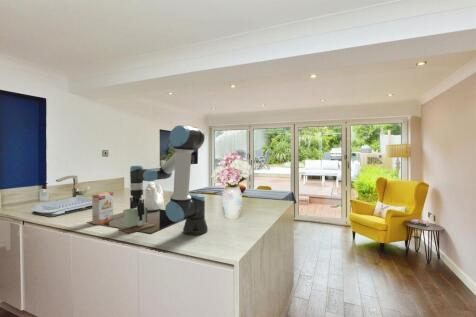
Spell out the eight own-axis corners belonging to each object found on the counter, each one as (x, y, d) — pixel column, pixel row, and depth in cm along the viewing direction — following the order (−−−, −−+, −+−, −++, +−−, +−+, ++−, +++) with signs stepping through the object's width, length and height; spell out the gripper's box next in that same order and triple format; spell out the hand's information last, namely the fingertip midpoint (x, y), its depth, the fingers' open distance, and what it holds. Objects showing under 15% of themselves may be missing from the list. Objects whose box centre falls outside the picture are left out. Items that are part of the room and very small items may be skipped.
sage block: (123, 209, 154) (142, 206, 164) (123, 225, 154) (142, 221, 164) (128, 211, 150) (147, 207, 160) (128, 227, 150) (147, 222, 160)
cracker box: (99, 225, 165) (99, 194, 165) (92, 224, 166) (91, 194, 166) (113, 219, 179) (113, 191, 178) (106, 219, 180) (106, 191, 180)
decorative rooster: (154, 213, 197) (153, 183, 196) (139, 211, 203) (138, 182, 202) (172, 206, 220) (172, 179, 220) (158, 205, 226) (158, 179, 225)
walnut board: (155, 226, 161) (155, 224, 161) (129, 233, 147) (128, 232, 147) (144, 223, 169) (144, 221, 169) (118, 229, 155) (118, 228, 155)
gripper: (123, 188, 160) (124, 223, 161) (139, 191, 149) (139, 228, 149) (134, 187, 166) (135, 220, 167) (150, 189, 155) (150, 225, 155)
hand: (137, 224), depth 158 cm, fingers closed on sage block, 6 cm apart
